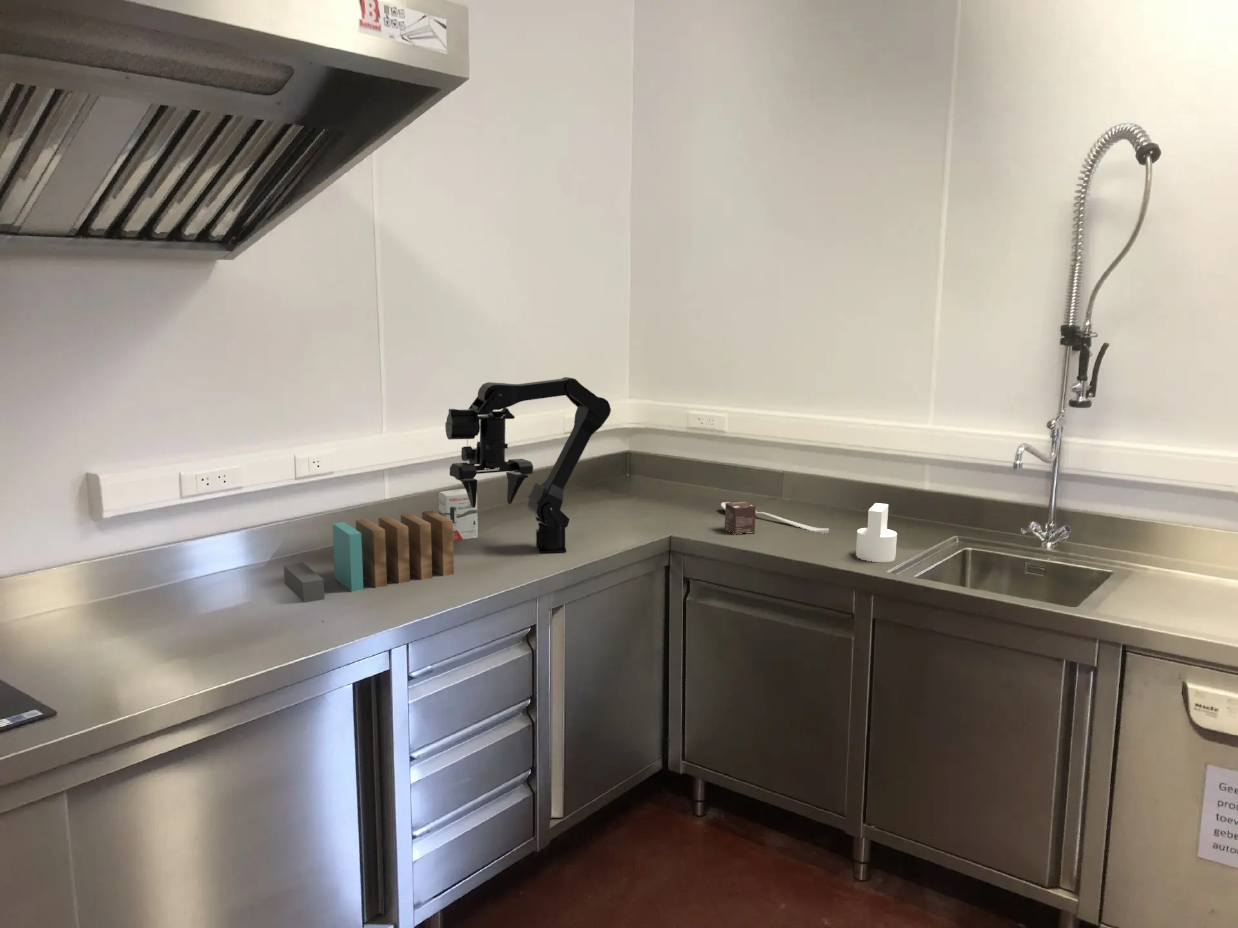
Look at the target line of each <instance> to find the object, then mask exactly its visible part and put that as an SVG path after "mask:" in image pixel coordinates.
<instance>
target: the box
mask: <svg viewBox="0 0 1238 928" xmlns="http://www.w3.org/2000/svg"><path fill="white" fill-rule="evenodd" d="M756 510H757V507H756V505H754V504H751V503H750V502H748V501H734V502H732V501H731V503H726V507H725V510H724V511H725V513H724V530H725V529H727V530H728V531H730V532H732V533H734V534H739V535H741V534H740V533H747V532H756V515H755V512H756ZM728 531H727V532H728ZM730 532H729V533H730ZM732 533H731V534H732Z"/></svg>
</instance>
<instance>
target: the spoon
mask: <svg viewBox="0 0 1238 928" xmlns="http://www.w3.org/2000/svg"><path fill="white" fill-rule="evenodd" d="M726 503H732V501H730V502H729V501H724V502H721V503H720V506H721V508H722V509H723V510H724V511H725V507H726ZM756 515H763V516H767V517H769V518H772V519H774V520H777V521H779V522H782V523H785V524H787V525H791V526H793V527H796V528H799V527H800V528H799V529H802V530H804V529H807V530H806V531H808V530H809V531H808V532H811V531H814V532H813V533H816V532H821V533H820V534H824V533H825V534H828V533H829V532H830V531H829V530H830V529H829V528H822V527H815V526H809V525H807V524H802V523H799V522H796V521H792V520H789V519H787V518H786V519H785V518H782V517H780V516H777V515H775V514H772V513H767V512H764V511H759V512H758V510H757V509H756V512H755V516H756Z"/></svg>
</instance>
